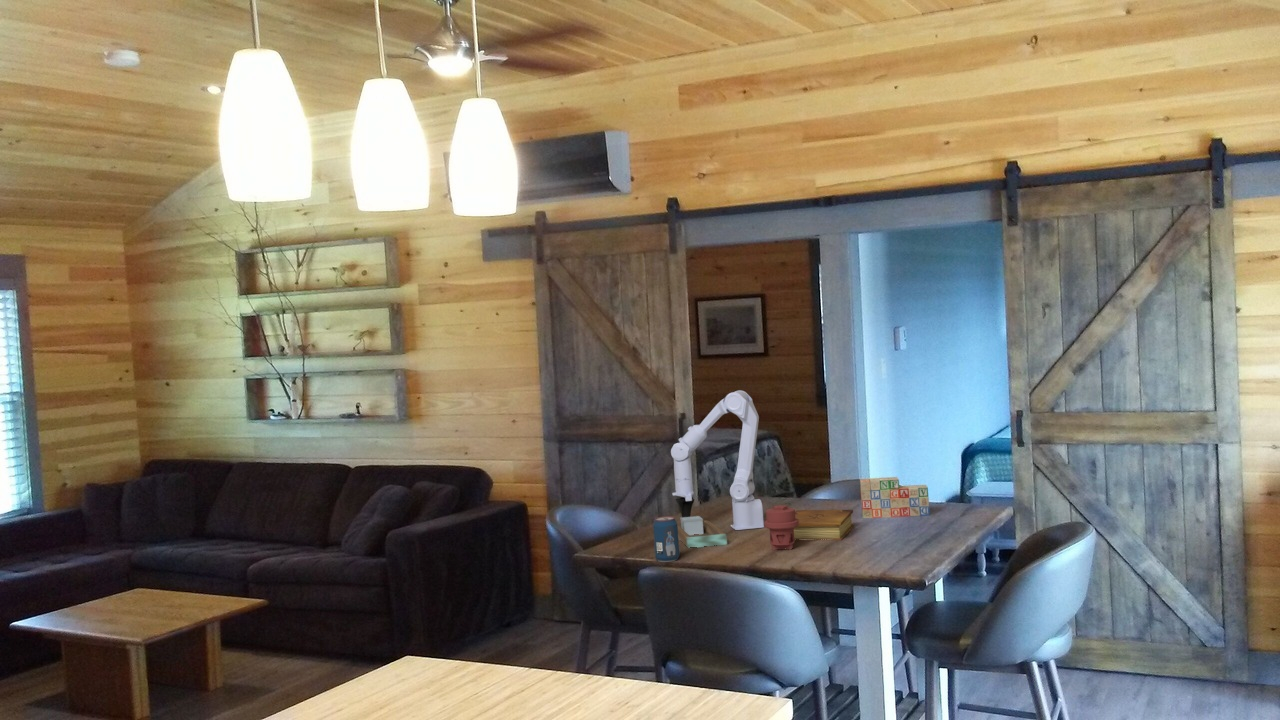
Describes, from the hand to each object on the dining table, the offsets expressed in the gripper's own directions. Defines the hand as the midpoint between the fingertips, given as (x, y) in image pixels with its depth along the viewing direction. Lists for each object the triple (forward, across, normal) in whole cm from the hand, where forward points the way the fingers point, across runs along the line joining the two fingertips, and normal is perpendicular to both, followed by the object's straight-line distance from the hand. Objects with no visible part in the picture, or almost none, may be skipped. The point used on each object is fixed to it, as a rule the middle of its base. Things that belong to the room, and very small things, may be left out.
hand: (686, 520), depth 371 cm
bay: (+3, +19, 0) cm, 19 cm away
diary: (+3, +29, +36) cm, 46 cm away
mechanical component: (+3, +47, +20) cm, 51 cm away
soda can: (+3, +47, -14) cm, 49 cm away
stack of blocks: (+3, +12, +67) cm, 68 cm away
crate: (+3, +10, 0) cm, 10 cm away
